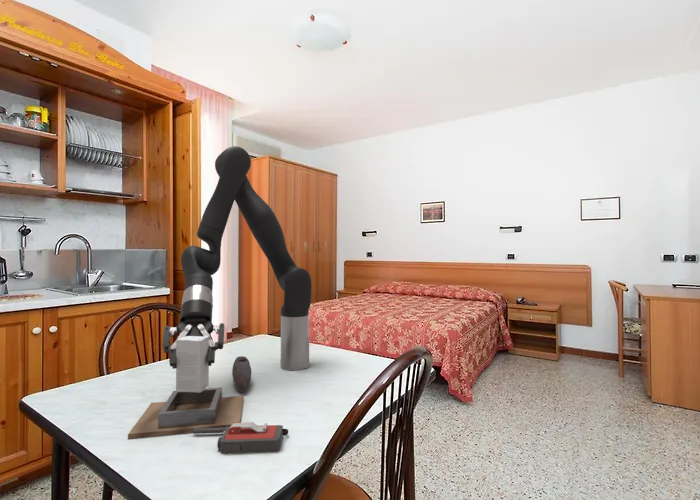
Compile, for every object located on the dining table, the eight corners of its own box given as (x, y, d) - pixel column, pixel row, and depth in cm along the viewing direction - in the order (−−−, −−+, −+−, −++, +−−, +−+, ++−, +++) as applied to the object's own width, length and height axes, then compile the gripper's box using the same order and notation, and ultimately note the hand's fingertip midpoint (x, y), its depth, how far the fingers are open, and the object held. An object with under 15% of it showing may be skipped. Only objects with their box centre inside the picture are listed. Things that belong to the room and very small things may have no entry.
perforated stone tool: (252, 395, 100) (252, 369, 100) (232, 397, 98) (232, 371, 98) (250, 377, 114) (250, 354, 114) (232, 378, 112) (232, 355, 112)
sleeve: (221, 399, 94) (221, 387, 94) (214, 423, 81) (214, 409, 81) (173, 403, 92) (173, 390, 92) (157, 428, 79) (158, 414, 79)
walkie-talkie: (289, 432, 80) (194, 434, 79) (289, 411, 80) (194, 414, 79) (285, 454, 72) (178, 457, 70) (285, 431, 72) (178, 434, 70)
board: (243, 399, 97) (243, 395, 97) (239, 428, 81) (239, 423, 81) (151, 406, 92) (151, 402, 92) (127, 438, 76) (128, 434, 76)
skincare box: (209, 386, 88) (209, 336, 88) (200, 393, 84) (200, 340, 84) (185, 385, 89) (185, 335, 89) (174, 392, 85) (175, 339, 85)
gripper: (164, 298, 91) (155, 360, 80) (226, 297, 96) (225, 355, 85) (168, 316, 97) (159, 376, 85) (226, 314, 101) (225, 370, 90)
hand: (192, 365), depth 85 cm, fingers closed on skincare box, 7 cm apart
